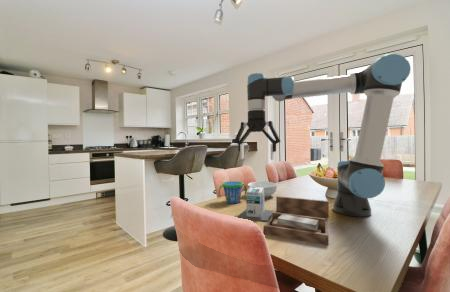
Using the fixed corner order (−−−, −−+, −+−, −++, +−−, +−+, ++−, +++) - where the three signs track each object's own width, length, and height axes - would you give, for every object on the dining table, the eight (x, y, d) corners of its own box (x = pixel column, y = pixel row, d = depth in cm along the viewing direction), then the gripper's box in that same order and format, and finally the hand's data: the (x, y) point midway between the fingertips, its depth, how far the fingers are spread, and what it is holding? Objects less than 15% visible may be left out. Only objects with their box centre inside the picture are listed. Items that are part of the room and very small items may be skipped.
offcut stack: (321, 235, 81) (321, 219, 80) (318, 242, 75) (319, 225, 75) (276, 226, 88) (276, 213, 88) (271, 232, 83) (271, 218, 83)
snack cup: (220, 205, 116) (219, 185, 115) (217, 200, 126) (216, 181, 126) (249, 203, 118) (249, 184, 118) (244, 198, 129) (244, 180, 128)
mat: (274, 212, 105) (274, 210, 105) (267, 221, 93) (267, 220, 93) (247, 208, 110) (247, 207, 110) (237, 217, 98) (237, 216, 98)
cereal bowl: (256, 191, 146) (256, 180, 146) (281, 194, 136) (281, 183, 136) (242, 197, 132) (242, 184, 132) (269, 201, 122) (269, 188, 122)
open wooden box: (328, 220, 94) (328, 201, 93) (328, 244, 72) (328, 219, 72) (276, 213, 102) (276, 196, 102) (263, 234, 81) (263, 211, 81)
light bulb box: (261, 218, 95) (261, 192, 95) (246, 216, 97) (245, 191, 97) (264, 210, 105) (264, 187, 105) (250, 209, 107) (250, 186, 107)
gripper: (287, 109, 98) (287, 159, 99) (233, 113, 108) (233, 157, 109) (283, 107, 91) (284, 160, 92) (226, 111, 101) (227, 159, 102)
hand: (256, 159), depth 101 cm, fingers open, 13 cm apart
